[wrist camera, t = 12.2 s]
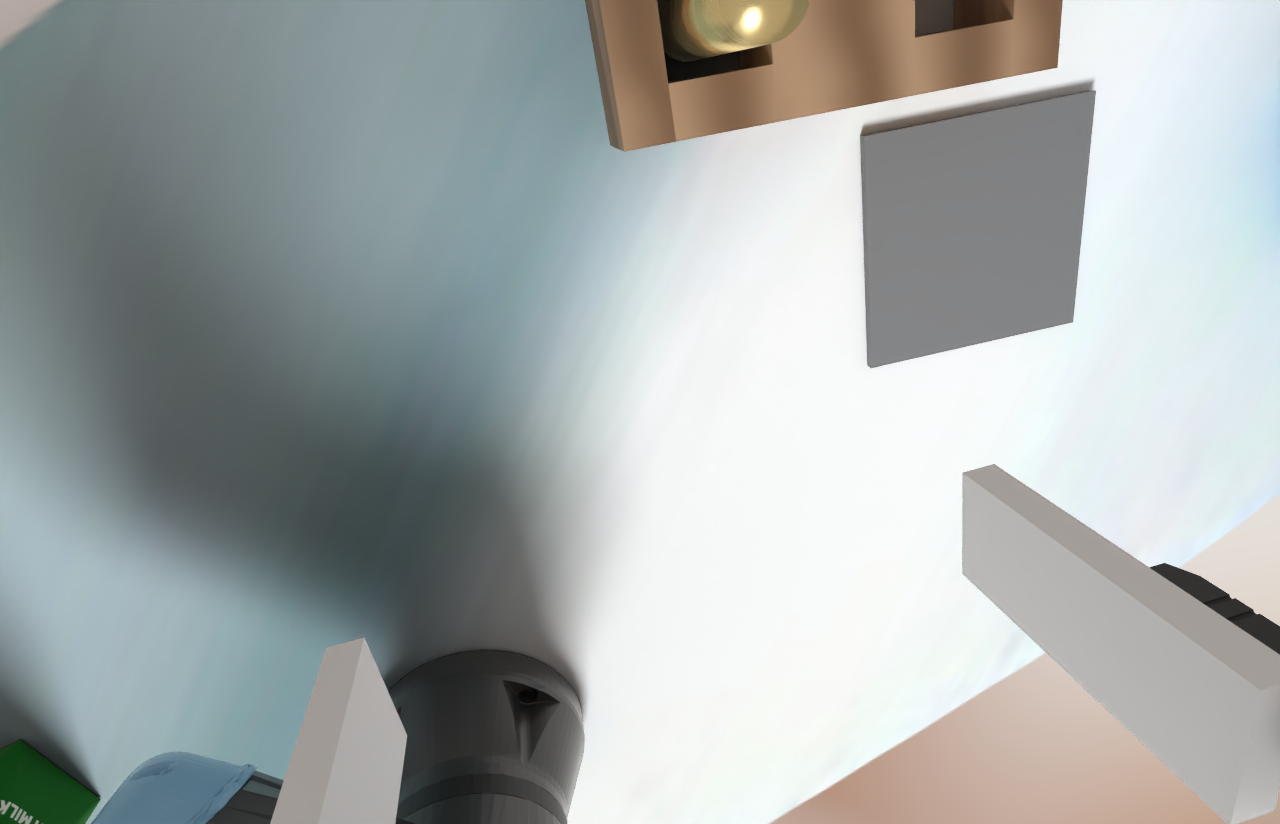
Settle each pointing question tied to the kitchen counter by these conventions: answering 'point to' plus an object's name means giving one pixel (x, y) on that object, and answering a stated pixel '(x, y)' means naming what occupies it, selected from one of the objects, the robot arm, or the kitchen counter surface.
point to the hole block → (810, 64)
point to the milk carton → (39, 790)
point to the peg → (725, 25)
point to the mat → (973, 226)
